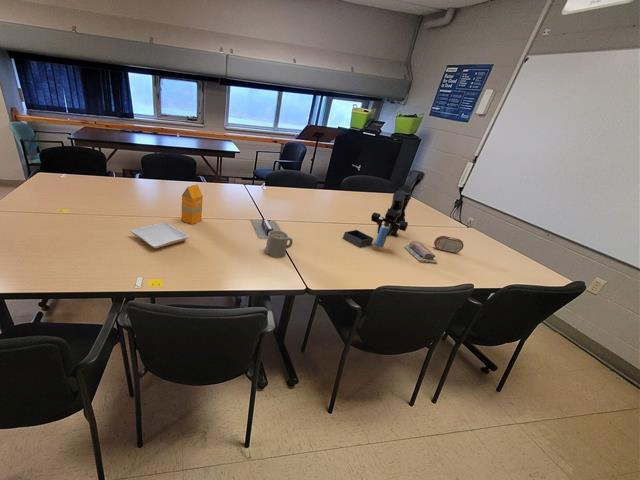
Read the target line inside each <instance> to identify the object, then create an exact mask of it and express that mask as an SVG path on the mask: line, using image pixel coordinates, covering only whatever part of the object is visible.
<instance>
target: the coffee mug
mask: <svg viewBox="0 0 640 480" xmlns="http://www.w3.org/2000/svg"><path fill="white" fill-rule="evenodd" d="M288 242H289V243H288ZM293 242H294V239H293V238H292V237H290V236H289V234H288V233H287V232H285V231H282V230H280V231H278V230H272V231H270V232H269V233H268V238H266V245H265V250H264V252H265V254H266V255H267V256H269V257H273V258H283V257H285V254H286V251H287V249H289V248H291V247H292V245H293Z"/></svg>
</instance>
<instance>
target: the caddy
mask: <svg viewBox="0 0 640 480" xmlns="http://www.w3.org/2000/svg"><path fill="white" fill-rule="evenodd" d="M343 239H344V240H345V241H347V242H349V243H351V244H353V245H354V246H357V247H358V248H364V247H367V246H371V245H372V244H373V242H374V237H373V236H369V234H366V233H364V232H363V231H360V230H358V229H354V230H349V231H348V230H347V231H344V234H343V237H342V240H343Z"/></svg>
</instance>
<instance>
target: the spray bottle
mask: <svg viewBox="0 0 640 480" xmlns="http://www.w3.org/2000/svg"><path fill="white" fill-rule="evenodd" d="M389 227H390V222H387V221H386V222H383V223H382V226H381V228H380V230H379V233H377V236H376V238H375V241H374V244H373V246H374V247H377V248H381V249H382V248H384V245H385V244H386V241H387V234H388V233H389V230H390V228H389Z"/></svg>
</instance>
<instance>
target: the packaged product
mask: <svg viewBox="0 0 640 480" xmlns="http://www.w3.org/2000/svg"><path fill="white" fill-rule="evenodd" d="M404 248H405V249H406V250H407V251H408V252H409V253H410V254H411V255H412V256H413V257H414V258H416V260H417V261H419V262H420V263H434V264H438V260H437V259H435V258H436V255H435V253H433V252H432V251H431V250H430V249H429V248H427V247H426V245H424V244H423V242H420V241H416V240H415V241H414V240H413V241H410V242H409V243H408V244H406V245H405V246H404Z"/></svg>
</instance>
